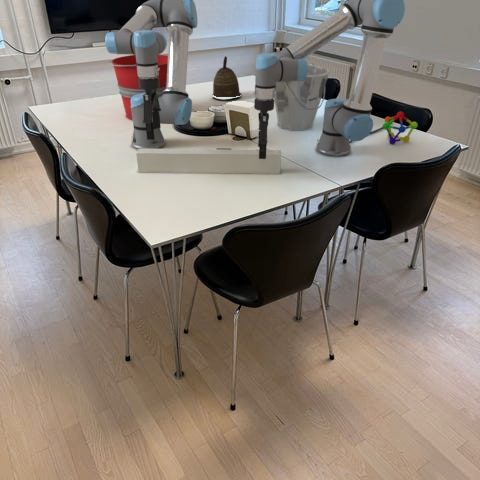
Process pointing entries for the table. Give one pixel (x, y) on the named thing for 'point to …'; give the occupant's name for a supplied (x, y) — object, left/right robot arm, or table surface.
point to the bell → (225, 82)
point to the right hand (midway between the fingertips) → (261, 152)
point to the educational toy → (398, 128)
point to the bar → (208, 161)
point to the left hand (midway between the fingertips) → (154, 133)
